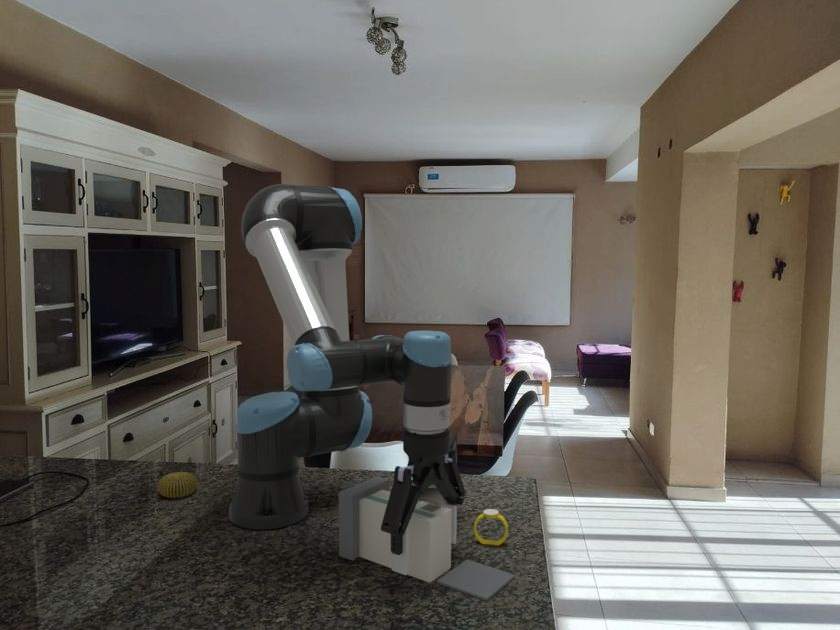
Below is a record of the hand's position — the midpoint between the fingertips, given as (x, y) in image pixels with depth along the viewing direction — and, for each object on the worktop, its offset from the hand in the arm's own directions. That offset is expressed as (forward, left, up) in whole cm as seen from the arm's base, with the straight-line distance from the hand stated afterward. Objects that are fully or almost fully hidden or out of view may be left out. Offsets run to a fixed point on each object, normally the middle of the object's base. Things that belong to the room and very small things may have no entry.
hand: (425, 556), depth 108 cm
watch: (+4, +15, -3) cm, 16 cm away
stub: (0, 0, -2) cm, 2 cm away
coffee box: (-11, +19, -3) cm, 22 cm away
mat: (+8, +2, -2) cm, 9 cm away
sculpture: (-61, -4, -3) cm, 62 cm away
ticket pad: (-10, 0, -2) cm, 10 cm away
